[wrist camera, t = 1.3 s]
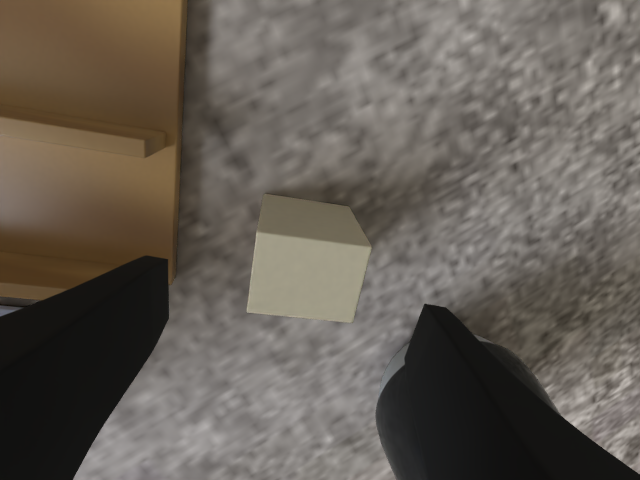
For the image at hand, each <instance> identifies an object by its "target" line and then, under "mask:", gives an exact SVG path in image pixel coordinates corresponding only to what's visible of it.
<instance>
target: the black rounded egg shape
mask: <svg viewBox="0 0 640 480" xmlns="http://www.w3.org/2000/svg"><path fill="white" fill-rule="evenodd" d="M473 335H474V336H475V337H476V338H477V339H478V340H479V341H480V342H481V343H482V344H483V345H484V346H485V347H486V348H487V349H488V350H489V351H490V352H491V353H492V354H493V355H494V356H495V357H496V358H497V359H498V360H499V361H500V362H501V363H502V364H503V365H504V366H505V367H506V368H507V369H508V370H509V371H510V372H511V373H513V374H514V375H515V376H516V377H517V378H518V379H519V380H520V381H521V382H522V383H523V384H525V385H526V386H527V387H528V388H529V389H530V390H531V391H532V392H533V393H534V394H536V395H537V396H538V397H539V398H540V399H541V400H542V401H544V402H545V403H546V404H547V405H548V406H549V407H551V408H552V409H553V410H554V411H556V412H557V413H558V414H559V415H561V414H560V413H559V411H558V409H557V408H556V406H555V405H554V403H553V402H552V400H551V399H550V397H549V395H548V394H547V392H546V391H545V389H544V388H543V386H542V385H541V383H540V382H539V381H538V379H537V378H536V376H535V375H534V374H533V373H532V371H531V370H530V369H529V368H528V367H527V365H526V364H525V363H524V362H523V361H522V360H521V359H520V358H519V357H518V356H517V355H516V354H514V353H513V352H511V351H510V350H508V349H506V348H504V347H502V346H500V345H497V344H494V343H492V342H491V341H489V340H487V339H485V338H482V337H480V336H477V335H475V334H473ZM409 344H410V343H408V344H407V345H406V346H404V347H403V348H402V349H401V350H400V351H399V352H398V353H397V354H396V355H395V356H394V357H393V359H392V360H391V361H390V363H389V364H388V366H387V368H386V370H385V372H384V375H383V377H382V381H381V385H380V390H379V399H378V403H377V407H376V426H377V430H378V434H379V437H380V441H381V444H382V447H383V449H384V452H385V454H386V457H387V459H388V462H389V464H390V466H391V469H392V471H393V473H394V475H395V478H396V480H427V476H426V471H425V467H424V463H423V458H422V454H421V450H420V445H419V441H418V437H417V432H416V428H415V424H414V419H413V415H412V411H411V406H410V402H409V397H408V392H407V383H406V373H405V361H404V357H405V354H406V352H407V349H408V346H409Z"/></svg>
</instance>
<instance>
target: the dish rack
mask: <svg viewBox="0 0 640 480" xmlns="http://www.w3.org/2000/svg"><path fill="white" fill-rule="evenodd" d="M187 6H188V0H0V296H2V297H12V298H22V299H33V300H44V299H46V298H49V297H51V296H54V295H56V294H59V293H61V292H63V291H66V290H68V289H71V288H73V287H75V286H78V285H80V284H82V283H84V282H86V281H89V280H91V279H93V278H95V277H97V276H100V275H102V274H104V273H106V272H108V271H111V270H113V269H115V268H117V267H119V266H121V265H124V264H126V263H128V262H130V261H133V260H135V259H137V258H140V257H142V256H145V255H148V256H153V257H159V258H165V259H168V285H172V283H173V281H174V279H175V278H176V262H177V238H178V215H179V192H180V169H181V145H182V122H183V99H184V76H185V53H186V29H187Z"/></svg>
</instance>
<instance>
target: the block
mask: <svg viewBox="0 0 640 480" xmlns="http://www.w3.org/2000/svg"><path fill="white" fill-rule="evenodd" d="M371 250H372V246H371V245H370V243H369V241H368V239H367V237H366V236H365V234H364V232H363V230H362V229H361V227H360V225H359V223H358V222H357V220H356V218H355V216H354V214H353V213H352V211H351V209H350V207H349V206H343V205H337V204H330V203H323V202H317V201H310V200H303V199H297V198H290V197H284V196H277V195H270V194H264V195H263V199H262V205H261V210H260V216H259V221H258V227H257V232H256V240H255V248H254V256H253V264H252V271H251V279H250V287H249V295H248V303H247V312H248V313H256V314H266V315H276V316H286V317H296V318H306V319H316V320H326V321H336V322H346V323H353V320H354V316H355V313H356V309H357V305H358V301H359V297H360V293H361V289H362V285H363V281H364V277H365V273H366V269H367V265H368V262H369V258H370V254H371Z"/></svg>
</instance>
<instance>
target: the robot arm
mask: <svg viewBox="0 0 640 480" xmlns="http://www.w3.org/2000/svg"><path fill="white" fill-rule="evenodd" d="M168 319H169V291H168V259H165V258H159V257H153V256H148V255H145V256H142V257H140V258H137V259H135V260H133V261H130V262H128V263H126V264H124V265H121V266H119V267H117V268H115V269H113V270H111V271H108V272H106V273H104V274H102V275H100V276H97V277H95V278H93V279H91V280H89V281H86V282H84V283H82V284H80V285H78V286H75V287H73V288H71V289H68V290H66V291H63V292H61V293H59V294H56V295H54V296H51V297H49V298H46V299H44V300H42V301H39V302H37V303H34V304H32V305H29V306H27V307H24V308H23V307H12V306H1V305H0V480H73V478H74V476H75V474H76V472H77V471H78V469H79V467H80V465H81V463H82V461H83V460H84V458H85V456H86V454H87V452H88V450H89V448H90V447H91V445H92V443H93V441H94V440H95V438H96V436H97V435H98V433H99V431H100V430H101V428H102V427H103V425H104V423H105V422H106V420H107V419H108V417H109V416H110V414H111V413H112V411H113V410H114V408H115V407H116V405H117V404H118V402H119V401H120V399H121V398H122V396H123V395H124V393H125V392H126V391H127V389H128V388H129V386H130V385H131V383H132V382H133V380H134V379H135V377H136V376H137V374H138V373H139V371H140V370H141V368H142V366H143V365H144V363H145V362H146V360H147V359H148V357H149V356H150V354H151V353H152V351H153V350H154V348H155V346H156V344H157V342H158V340H159V338H160V336H161V334H162V332H163V329H164V327H165V325H166V323H167V321H168ZM404 361H405V373H406V383H407V392H408V397H409V402H410V406H411V411H412V415H413V419H414V424H415V428H416V432H417V437H418V441H419V445H420V450H421V454H422V458H423V463H424V467H425V471H426V476H427V480H640V474H638V473H637V472H635V471H634V470H632V469H631V468H630V467H628V466H627V465H625V464H624V463H623V462H621V461H620V460H618V459H617V458H616V457H614V456H613V455H611V454H610V453H609V452H607V451H606V450H604V449H603V448H602V447H600V446H599V445H598V444H596V443H595V442H594V441H592V440H591V439H590V438H588V437H587V436H586V435H584V434H583V433H582V432H580V431H579V430H578V429H577V428H575V427H574V426H573V425H572V424H570V423H569V422H568V421H567V420H565V419H564V418H563V417H562V416H561V415H559V414H558V413H557V412H556V411H554V410H553V409H552V408H551V407H549V406H548V405H547V404H546V403H545V402H544V401H542V400H541V399H540V398H539V397H538V396H537V395H536V394H534V393H533V392H532V391H531V390H530V389H529V388H528V387H527V386H526V385H525V384H523V383H522V382H521V381H520V380H519V379H518V378H517V377H516V376H515V375H514V374H513V373H511V372H510V371H509V370H508V369H507V368H506V367H505V366H504V365H503V364H502V363H501V362H500V361H499V360H498V359H497V358H496V357H495V356H494V355H493V354H492V353H491V352H490V351H489V350H488V349H487V348H486V347H485V346H484V345H483V344H482V343H481V342H480V341H479V340H478V339H477V338H476V337H475V336H474V335H473V334H472V333H471V332H470V331H469V330H468V329H467V328H466V327H465V326H464V324H463V323H462V322H461V321H460V320H459V319H458V318H457V317H456V316H455V315H453V314H452V313H451V312H450V311H449V310H448V309H447V308H446V307H440V306H435V305H429V304H424V306H423V309H422V312H421V314H420V317H419V320H418V322H417V325H416V328H415V330H414V333H413V336H412V338H411V341H410V344H409V346H408V349H407V352H406V354H405V357H404Z"/></svg>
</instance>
